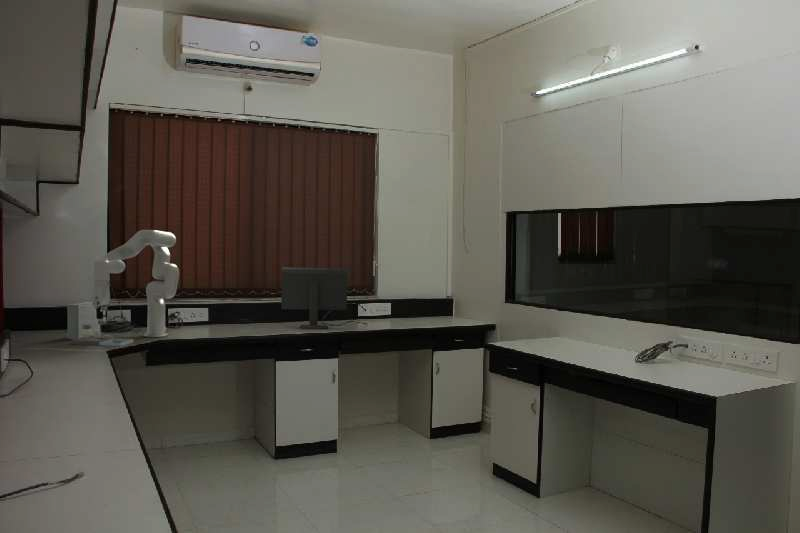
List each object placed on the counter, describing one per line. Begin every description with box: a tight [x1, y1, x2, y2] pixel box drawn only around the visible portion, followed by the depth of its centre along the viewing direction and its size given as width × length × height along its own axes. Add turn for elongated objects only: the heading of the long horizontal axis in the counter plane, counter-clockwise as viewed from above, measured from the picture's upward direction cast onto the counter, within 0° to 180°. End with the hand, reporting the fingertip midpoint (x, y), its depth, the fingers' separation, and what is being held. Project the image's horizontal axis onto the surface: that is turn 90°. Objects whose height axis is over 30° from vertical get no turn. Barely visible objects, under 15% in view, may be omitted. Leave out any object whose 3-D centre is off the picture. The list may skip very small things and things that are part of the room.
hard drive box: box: [67, 301, 101, 340], centre depth 341 cm, size 16×8×20 cm, turn 160°
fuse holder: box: [70, 334, 116, 346], centre depth 326 cm, size 16×15×4 cm
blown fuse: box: [98, 306, 107, 325], centre depth 326 cm, size 4×4×9 cm
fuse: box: [83, 325, 91, 339], centre depth 326 cm, size 4×4×9 cm
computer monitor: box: [280, 266, 349, 330], centre depth 417 cm, size 44×16×40 cm, turn 94°
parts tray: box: [98, 338, 134, 347], centre depth 323 cm, size 14×11×2 cm
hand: (101, 318), depth 326 cm, fingers closed on blown fuse, 3 cm apart
